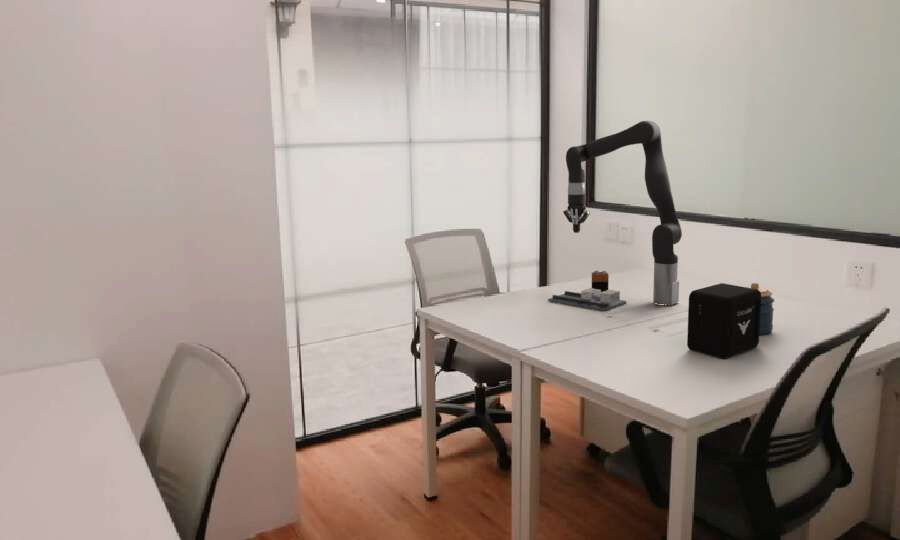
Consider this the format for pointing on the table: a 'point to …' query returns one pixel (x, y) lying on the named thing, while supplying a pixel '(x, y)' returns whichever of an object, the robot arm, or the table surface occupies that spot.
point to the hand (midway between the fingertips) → (576, 232)
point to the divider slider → (590, 294)
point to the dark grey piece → (606, 301)
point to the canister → (765, 310)
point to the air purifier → (724, 320)
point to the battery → (600, 280)
